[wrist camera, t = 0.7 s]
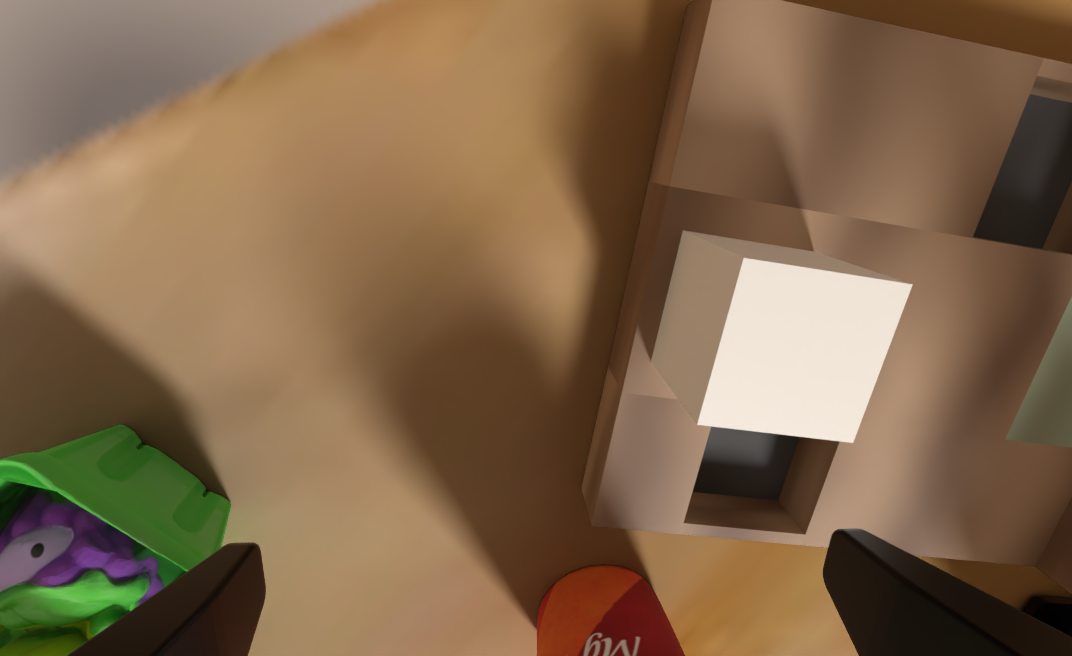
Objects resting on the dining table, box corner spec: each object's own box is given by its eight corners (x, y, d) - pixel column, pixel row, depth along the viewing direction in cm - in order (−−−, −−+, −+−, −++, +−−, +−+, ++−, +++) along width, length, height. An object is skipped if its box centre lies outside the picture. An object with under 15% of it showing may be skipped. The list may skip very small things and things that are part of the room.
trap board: (1205, 116, 20) (1423, 108, 16) (1002, 530, 26) (1117, 617, 21) (686, 6, 18) (757, -44, 13) (581, 488, 23) (604, 577, 18)
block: (814, 251, 18) (912, 284, 14) (774, 377, 20) (853, 443, 15) (682, 230, 18) (743, 257, 13) (650, 361, 19) (697, 424, 15)
